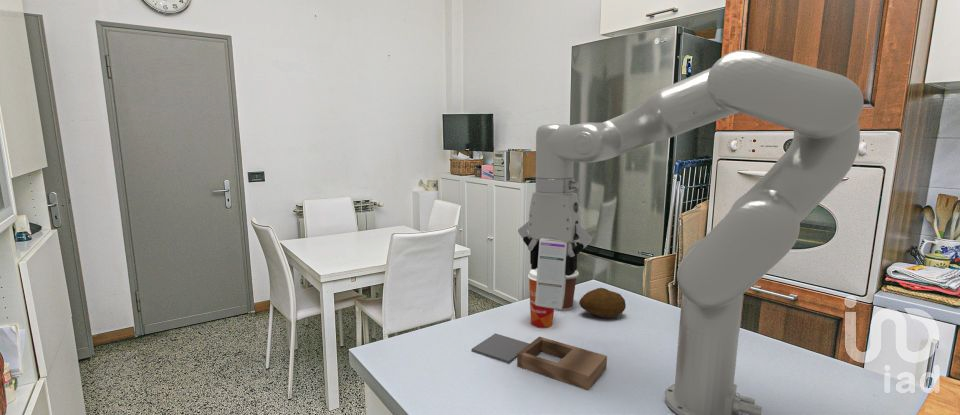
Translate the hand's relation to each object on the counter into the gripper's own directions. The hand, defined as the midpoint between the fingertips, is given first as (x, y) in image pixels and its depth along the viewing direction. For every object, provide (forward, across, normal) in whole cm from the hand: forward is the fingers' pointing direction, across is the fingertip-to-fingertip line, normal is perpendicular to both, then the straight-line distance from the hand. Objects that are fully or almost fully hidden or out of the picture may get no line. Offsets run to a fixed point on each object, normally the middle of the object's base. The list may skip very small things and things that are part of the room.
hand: (552, 270), depth 97 cm
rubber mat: (+21, +13, 0) cm, 24 cm away
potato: (+21, +1, -32) cm, 38 cm away
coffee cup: (+21, +13, -32) cm, 40 cm away
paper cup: (+21, +12, -18) cm, 30 cm away
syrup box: (+7, +1, 0) cm, 7 cm away
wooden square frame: (+21, -2, 0) cm, 21 cm away
